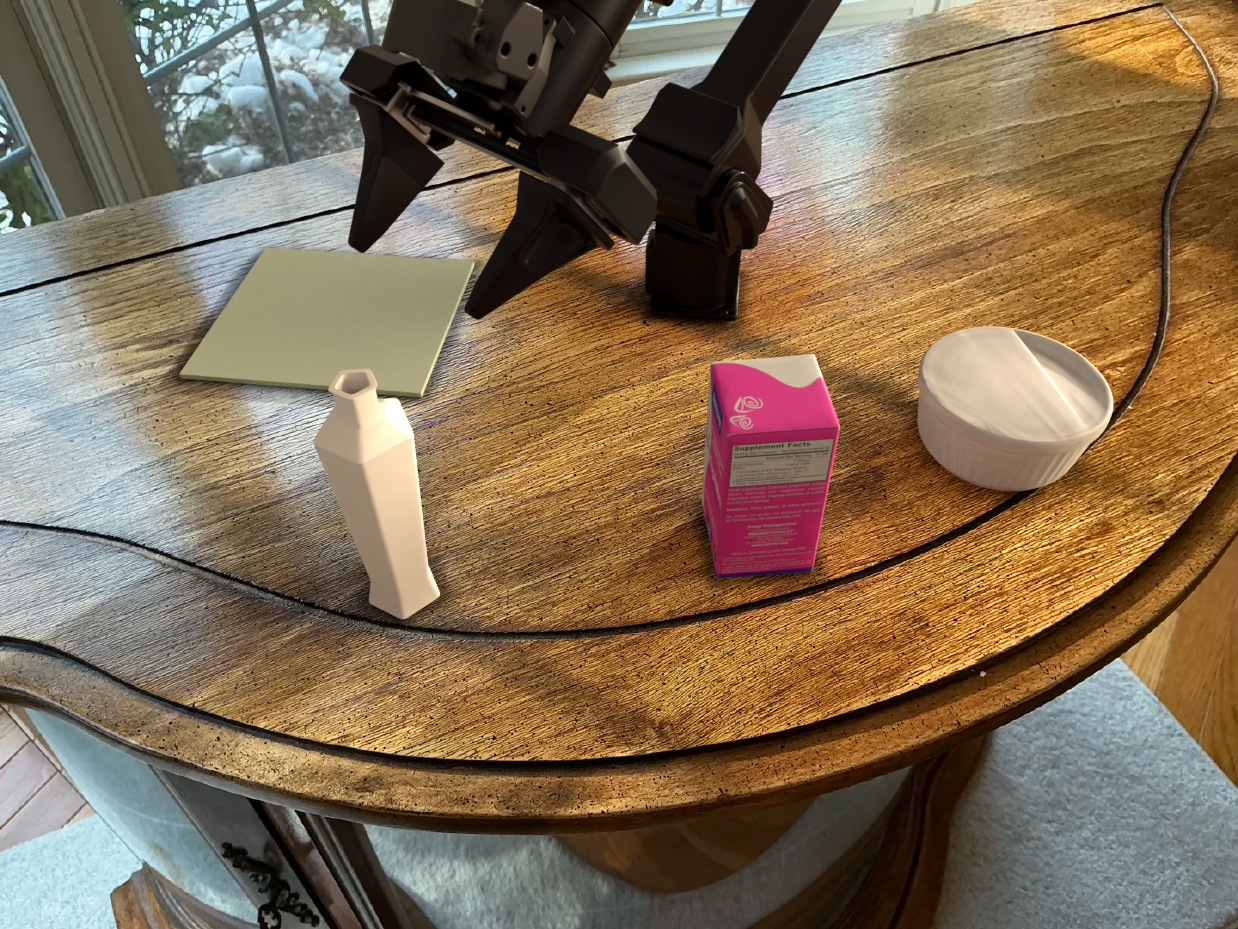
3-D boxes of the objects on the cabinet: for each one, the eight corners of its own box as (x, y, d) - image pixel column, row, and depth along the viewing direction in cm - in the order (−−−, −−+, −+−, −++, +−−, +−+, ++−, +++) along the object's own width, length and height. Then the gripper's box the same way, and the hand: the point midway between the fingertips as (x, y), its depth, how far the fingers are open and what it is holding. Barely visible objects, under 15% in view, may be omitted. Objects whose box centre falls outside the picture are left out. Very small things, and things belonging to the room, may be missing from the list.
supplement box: (696, 506, 59) (708, 356, 51) (793, 500, 59) (821, 350, 51) (711, 582, 55) (726, 432, 47) (815, 575, 55) (848, 425, 47)
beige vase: (432, 630, 53) (384, 423, 42) (354, 617, 53) (289, 410, 43) (459, 565, 56) (421, 357, 45) (385, 553, 57) (331, 346, 46)
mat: (474, 265, 77) (474, 261, 77) (421, 397, 66) (420, 393, 66) (266, 251, 79) (265, 247, 79) (180, 378, 68) (178, 374, 67)
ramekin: (1118, 448, 63) (1150, 385, 59) (1021, 536, 57) (1049, 472, 54) (969, 365, 69) (989, 302, 65) (868, 437, 63) (883, 374, 60)
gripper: (350, -130, 48) (188, 145, 48) (641, -46, 39) (441, 290, 40) (474, 14, 58) (338, 242, 58) (728, 107, 49) (567, 375, 50)
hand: (410, 281), depth 51 cm, fingers open, 9 cm apart
